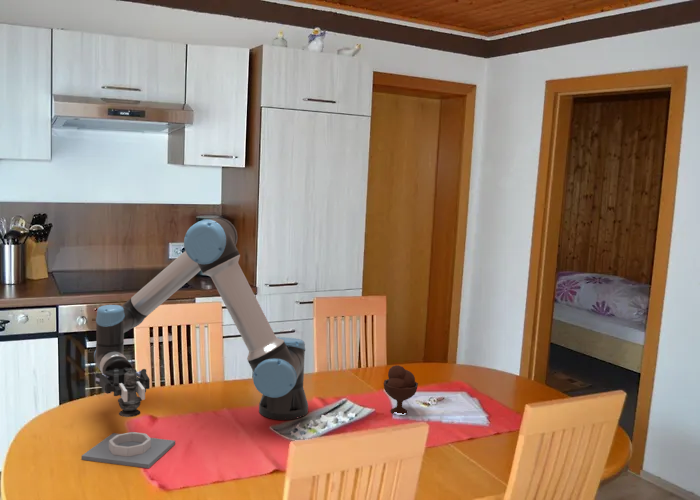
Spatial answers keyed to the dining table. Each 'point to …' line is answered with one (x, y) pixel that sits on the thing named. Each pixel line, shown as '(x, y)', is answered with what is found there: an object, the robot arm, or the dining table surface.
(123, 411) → the chess piece
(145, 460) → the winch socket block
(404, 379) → the ice cream bowl
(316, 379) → the dining table surface
